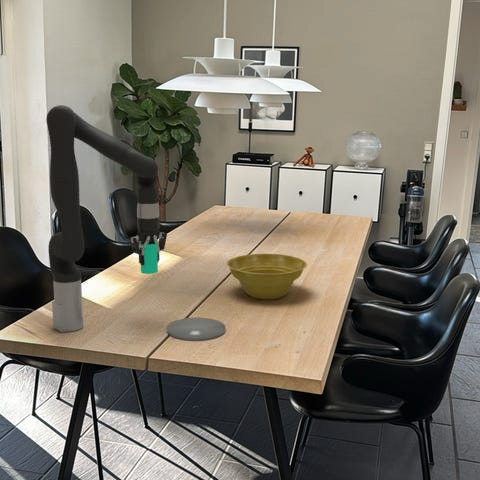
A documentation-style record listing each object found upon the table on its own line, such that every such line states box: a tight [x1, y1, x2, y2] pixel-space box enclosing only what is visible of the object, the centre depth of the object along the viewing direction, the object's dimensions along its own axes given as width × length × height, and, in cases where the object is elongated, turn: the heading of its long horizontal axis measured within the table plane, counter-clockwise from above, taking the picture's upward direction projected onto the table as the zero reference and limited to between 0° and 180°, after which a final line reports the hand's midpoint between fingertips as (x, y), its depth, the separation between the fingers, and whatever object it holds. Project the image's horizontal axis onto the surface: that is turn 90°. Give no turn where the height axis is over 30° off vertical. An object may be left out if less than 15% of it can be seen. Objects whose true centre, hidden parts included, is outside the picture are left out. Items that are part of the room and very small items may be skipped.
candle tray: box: [166, 317, 226, 342], centre depth 230 cm, size 20×20×1 cm
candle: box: [139, 242, 159, 275], centre depth 233 cm, size 6×6×12 cm
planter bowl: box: [226, 253, 308, 300], centre depth 271 cm, size 32×32×13 cm
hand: (149, 263), depth 233 cm, fingers closed on candle, 4 cm apart
